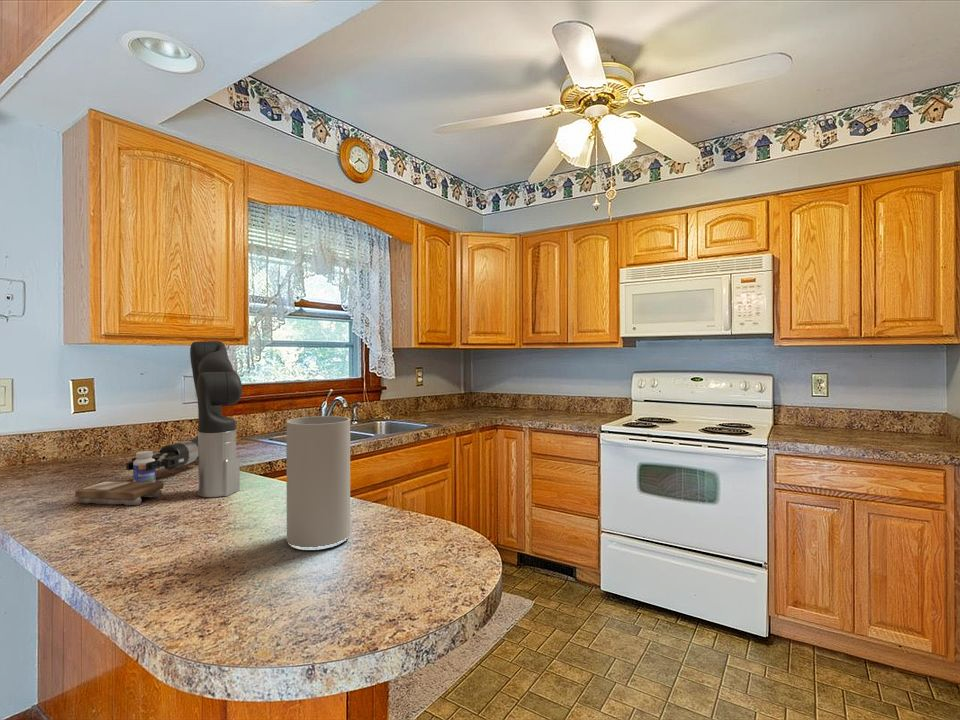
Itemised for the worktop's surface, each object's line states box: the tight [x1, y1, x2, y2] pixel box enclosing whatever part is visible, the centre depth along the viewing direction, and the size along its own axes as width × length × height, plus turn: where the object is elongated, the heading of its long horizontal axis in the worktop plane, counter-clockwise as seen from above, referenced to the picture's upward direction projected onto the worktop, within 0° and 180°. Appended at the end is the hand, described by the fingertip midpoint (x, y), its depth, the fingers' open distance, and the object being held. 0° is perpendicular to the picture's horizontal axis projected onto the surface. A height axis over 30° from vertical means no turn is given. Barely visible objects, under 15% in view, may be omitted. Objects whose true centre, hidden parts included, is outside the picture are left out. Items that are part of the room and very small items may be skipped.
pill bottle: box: [132, 450, 157, 482], centre depth 145 cm, size 5×5×10 cm
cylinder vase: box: [285, 415, 351, 547], centre depth 104 cm, size 12×12×25 cm
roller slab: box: [74, 480, 164, 506], centre depth 131 cm, size 16×10×4 cm, turn 84°
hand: (137, 466), depth 142 cm, fingers closed on pill bottle, 5 cm apart
